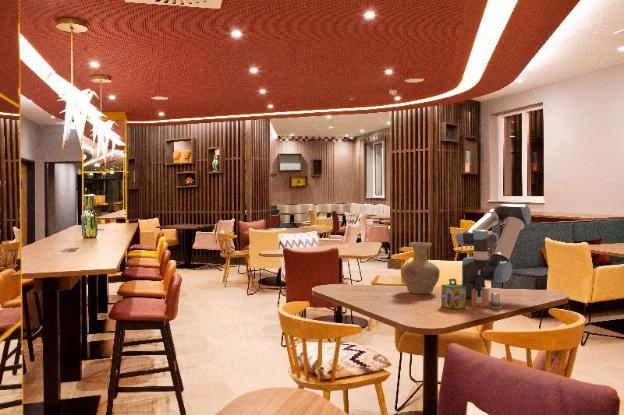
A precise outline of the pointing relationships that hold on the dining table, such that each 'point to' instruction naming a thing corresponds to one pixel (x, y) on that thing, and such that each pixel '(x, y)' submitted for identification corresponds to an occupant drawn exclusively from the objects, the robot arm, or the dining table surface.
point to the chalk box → (453, 295)
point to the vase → (420, 271)
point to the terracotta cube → (484, 298)
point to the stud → (495, 301)
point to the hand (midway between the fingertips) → (480, 301)
